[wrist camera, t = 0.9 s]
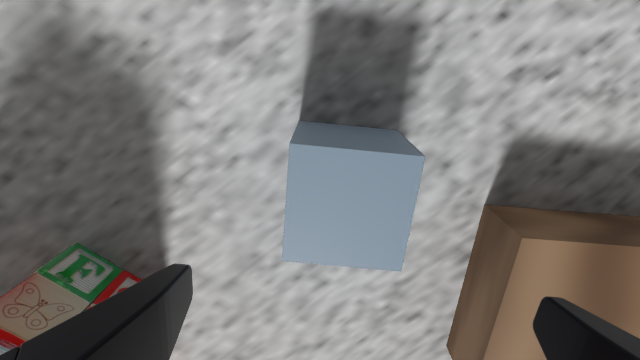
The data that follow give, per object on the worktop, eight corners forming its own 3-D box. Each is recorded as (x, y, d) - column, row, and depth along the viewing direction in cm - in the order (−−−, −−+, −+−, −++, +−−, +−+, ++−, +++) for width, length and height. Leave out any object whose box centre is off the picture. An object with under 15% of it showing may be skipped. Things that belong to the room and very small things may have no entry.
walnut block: (657, 215, 19) (741, 254, 15) (594, 352, 22) (650, 411, 18) (481, 202, 18) (522, 238, 15) (444, 341, 22) (470, 400, 18)
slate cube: (397, 130, 17) (425, 156, 12) (381, 218, 19) (401, 271, 14) (299, 120, 17) (289, 143, 12) (292, 210, 18) (281, 261, 14)
